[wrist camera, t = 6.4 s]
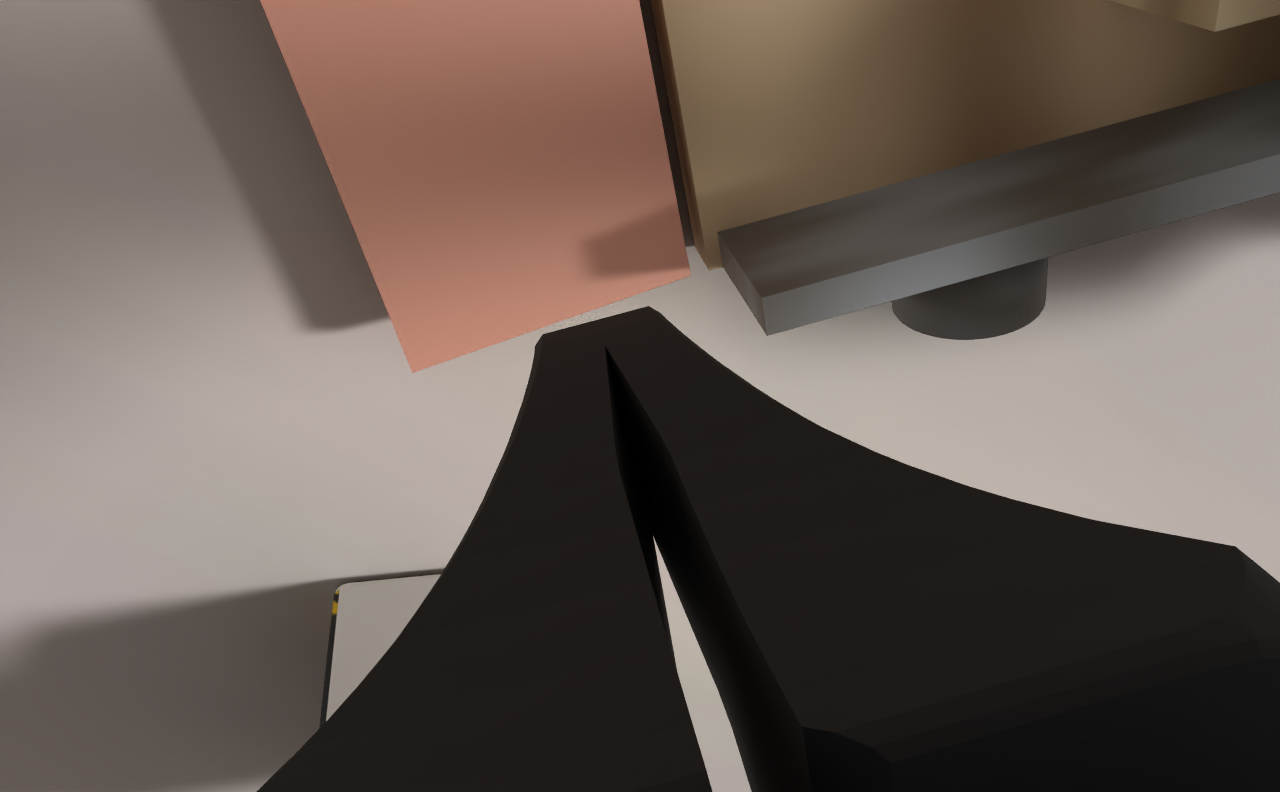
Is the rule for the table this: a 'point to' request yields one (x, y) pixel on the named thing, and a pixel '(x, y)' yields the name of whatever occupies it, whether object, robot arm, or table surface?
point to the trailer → (951, 145)
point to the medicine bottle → (366, 630)
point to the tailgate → (489, 157)
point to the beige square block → (1209, 11)
